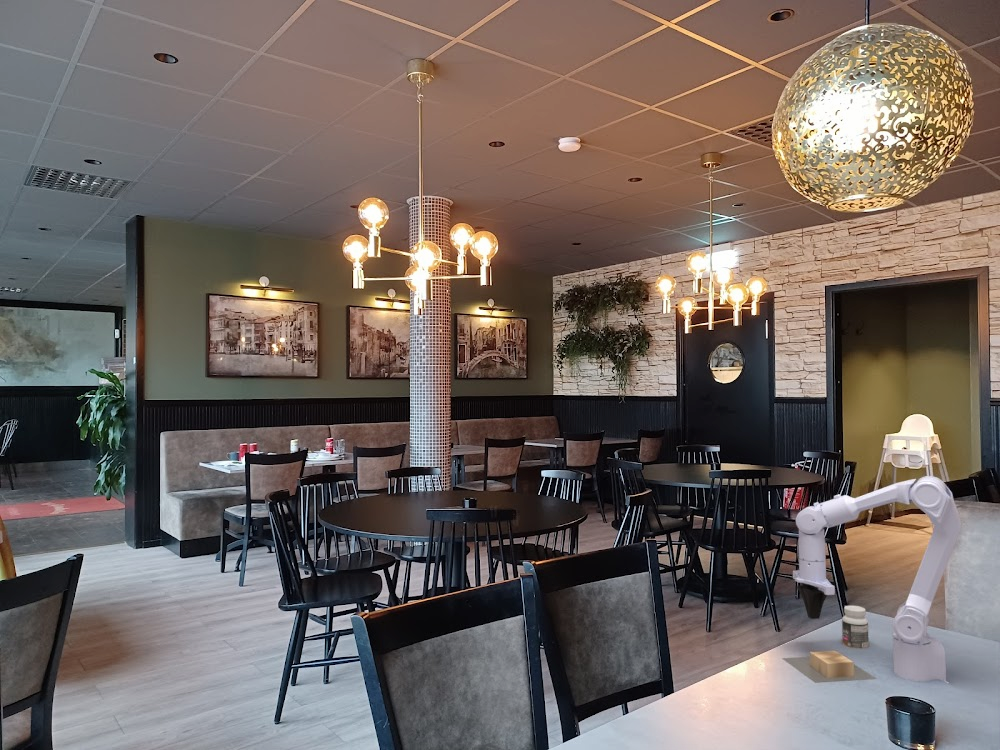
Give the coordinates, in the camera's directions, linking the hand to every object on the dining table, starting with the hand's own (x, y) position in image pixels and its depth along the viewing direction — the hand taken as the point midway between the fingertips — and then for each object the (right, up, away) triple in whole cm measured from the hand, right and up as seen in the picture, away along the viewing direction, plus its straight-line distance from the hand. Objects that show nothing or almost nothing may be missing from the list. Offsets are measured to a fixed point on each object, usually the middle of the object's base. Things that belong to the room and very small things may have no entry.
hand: (813, 617), depth 166 cm
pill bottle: (+13, -10, +7) cm, 18 cm away
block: (0, -7, -5) cm, 9 cm away
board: (0, -10, -7) cm, 12 cm away
